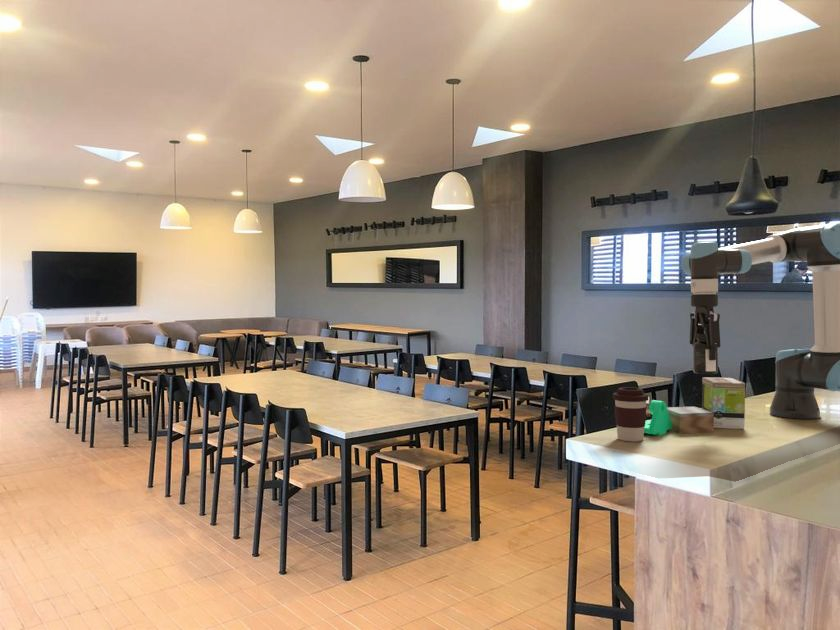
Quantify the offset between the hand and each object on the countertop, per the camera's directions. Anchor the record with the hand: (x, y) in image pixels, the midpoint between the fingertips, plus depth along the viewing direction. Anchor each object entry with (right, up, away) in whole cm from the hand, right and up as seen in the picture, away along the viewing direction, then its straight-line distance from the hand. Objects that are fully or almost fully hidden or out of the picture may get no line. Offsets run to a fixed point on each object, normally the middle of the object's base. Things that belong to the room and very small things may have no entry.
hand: (704, 369), depth 195 cm
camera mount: (-15, -20, +4) cm, 25 cm away
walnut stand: (-2, -20, +9) cm, 21 cm away
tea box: (+13, -19, +15) cm, 28 cm away
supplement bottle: (0, -1, 0) cm, 1 cm away
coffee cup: (-24, -20, -5) cm, 32 cm away
